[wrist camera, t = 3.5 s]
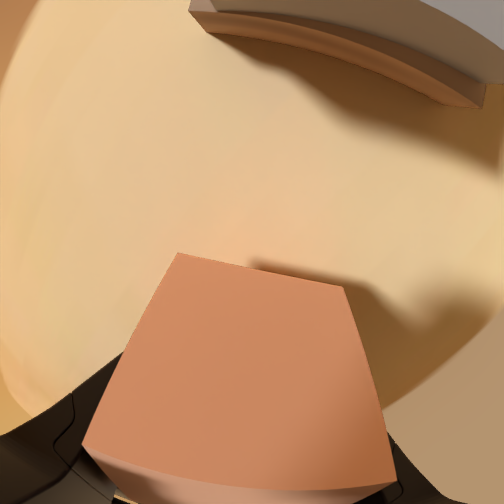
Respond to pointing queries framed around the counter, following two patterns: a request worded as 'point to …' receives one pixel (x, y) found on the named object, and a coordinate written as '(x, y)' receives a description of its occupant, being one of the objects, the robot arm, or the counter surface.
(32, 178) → the counter surface
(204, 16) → the tower bottom
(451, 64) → the tower top
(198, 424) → the block
